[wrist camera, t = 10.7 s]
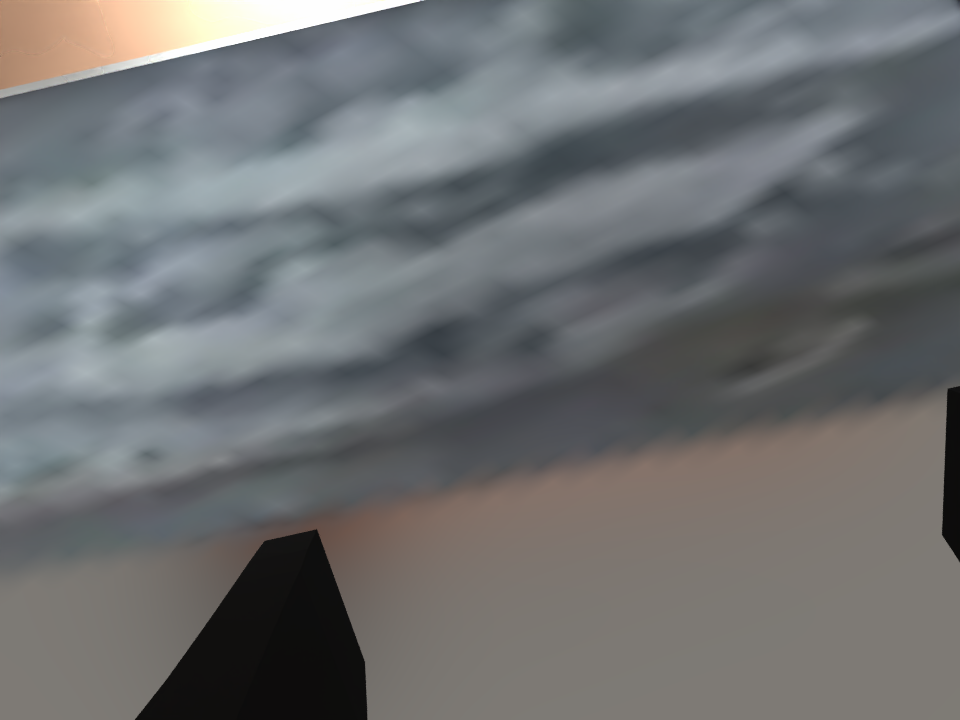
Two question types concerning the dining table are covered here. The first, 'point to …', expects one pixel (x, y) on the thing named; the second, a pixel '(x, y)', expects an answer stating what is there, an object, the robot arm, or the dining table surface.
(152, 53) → the orange-brown socket block
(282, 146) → the dining table surface
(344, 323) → the dining table surface
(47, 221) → the dining table surface
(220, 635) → the robot arm
